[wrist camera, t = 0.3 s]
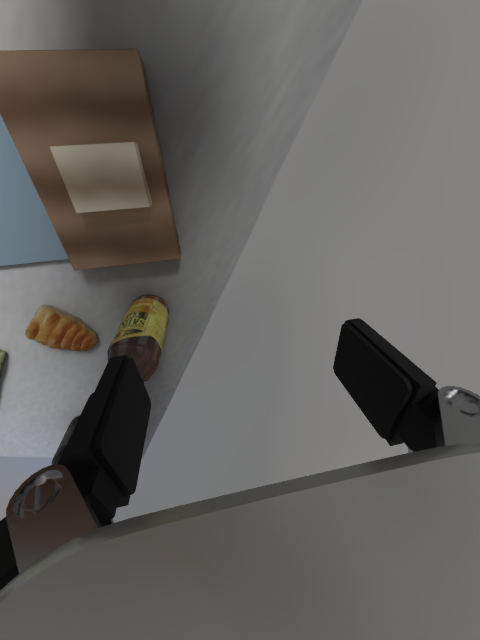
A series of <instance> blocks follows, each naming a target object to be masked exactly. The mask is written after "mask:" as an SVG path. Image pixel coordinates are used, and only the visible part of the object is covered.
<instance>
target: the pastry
mask: <svg viewBox="0 0 480 640" xmlns="http://www.w3.org/2000/svg"><path fill="white" fill-rule="evenodd" d="M25 334H26V337H27V338H29V339H33V340H35V341H37V342H39V343H41V344H43V345H47V346H49V347H51V348H58V349H68V350H77V351H81V350H84V351H86V350H89V349H91V348H92V347H94V346H95V345H96V343H97V341H98V339H97V335H96V333H95V332H94V331H93V330H92V329H90V328H89V327H88V326H87V325H86V324H84V323H83V322H82V321H81V320H80V319H79V318H76V317H74V316H72V315H70V314H68V313H66V312H64V311H62V310H60V309H57V308H55V307H52V306H48V305H43V306H41V307H40V308H39V309H38V310H37V312H36V313H35V316H34V318H33V319H32V321H31V322H30V324H29V325H28V327H27V329H26V333H25Z"/></svg>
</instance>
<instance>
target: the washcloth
mask: <svg viewBox="0 0 480 640" xmlns="http://www.w3.org/2000/svg"><path fill="white" fill-rule="evenodd" d="M5 356H6V354H5V351H2V350H0V369H1V367H2V365H1V364H2V363H3V360H4V357H5ZM0 376H1V370H0Z"/></svg>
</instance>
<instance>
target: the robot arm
mask: <svg viewBox="0 0 480 640" xmlns="http://www.w3.org/2000/svg"><path fill="white" fill-rule="evenodd" d="M333 369H334V373H335V374H336V376H337V377H338V379H339V380H340V381H341V383H342V384H343V385H344V387H345V388H346V390H347V391H348V392H349V394H350V395H351V397H352V398H353V399H354V401H355V402H356V404H357V405H358V406H359V408H360V409H361V411H362V412H363V413H364V415H365V416H366V417H367V419H368V420H369V422H370V423H371V424H372V426H373V427H374V429H375V430H376V431H377V433H378V434H379V435H380V436H381V437H382V438H384V439H386V440H387V442H388V443H389V445H390V446H393V445H397V444H402V443H403V442H404V443H405V444H406V445H407V446H408V453H407V454H403V455H398V456H393V457H388V458H384V459H380V460H375V461H371V462H366V463H362V464H357V465H353V466H348V467H344V468H340V469H336V470H331V471H326V472H322V473H318V474H313V475H309V476H305V477H300V478H296V479H292V480H287V481H283V482H279V483H275V484H270V485H266V486H261V487H257V488H253V489H249V490H245V491H240V492H236V493H232V494H227V495H223V496H219V497H215V498H211V499H207V500H202V501H198V502H193V503H189V504H185V505H181V506H177V507H173V508H169V509H165V510H161V511H157V512H153V513H149V514H145V515H141V516H137V517H134V518H130V519H126V520H123V521H120V522H116V523H114V522H113V517H114V516H115V512H116V508H118V507H122V506H126V505H128V503H129V499H130V495H131V494H134V492H135V490H136V485H137V480H138V474H139V468H140V464H141V458H142V453H143V447H144V442H145V436H146V431H147V426H148V420H149V415H150V409H151V401H150V398H149V396H148V393H147V391H146V388H145V386H144V384H143V381H142V379H141V376H140V374H139V372H138V369H137V367H136V364H135V362H134V360H133V358H129V357H128V356H127V355H122V356H115V357H111V358H110V359H109V362H108V364H107V366H106V368H105V370H104V373H103V375H102V377H101V379H100V381H99V383H98V386H97V388H96V390H95V392H94V393H92V394H91V395H90V397H89V399H88V401H87V403H86V405H85V407H84V409H83V411H82V413H81V415H80V418H79V420H78V422H77V424H76V426H75V428H74V430H73V432H72V435H71V437H70V439H69V441H68V443H67V445H66V447H65V449H64V451H63V454H62V456H61V458H60V460H59V462H58V464H57V465H50V466H48V467H45V468H42V469H41V470H39V471H37V472H36V473H34V474H33V475H31V476H30V477H29V478H28V479H26V480H25V481H24V482H23V483H22V484H21V485H20V487H19V488H18V489H17V490H16V491H15V493H14V495H13V496H12V497H11V499H10V501H9V503H8V506H7V509H6V517H5V518H4V519H2V520H1V521H0V640H480V396H479V395H477V394H475V393H473V392H471V391H469V390H466V389H463V388H461V387H455V386H445V387H442V388H441V389H440V390H438V389H437V388H436V387H435V385H436V382H435V381H434V380H433V379H431V378H430V377H429V376H428V375H427V374H425V373H424V372H423V371H422V370H421V369H420V368H418V367H417V366H416V365H415V364H414V363H412V362H411V361H410V360H409V359H408V358H407V357H405V356H404V355H403V354H402V353H401V352H400V351H398V350H397V349H396V348H395V347H394V346H392V345H391V344H390V343H389V342H388V341H386V340H385V339H384V338H383V337H382V336H380V335H379V334H378V333H377V332H376V331H375V330H374V329H372V328H371V327H370V326H369V325H368V324H366V323H365V322H364V321H363V320H361V319H352V320H347V321H345V323H344V324H343V325H342V327H341V332H340V336H339V341H338V346H337V351H336V356H335V361H334V366H333Z"/></svg>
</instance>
